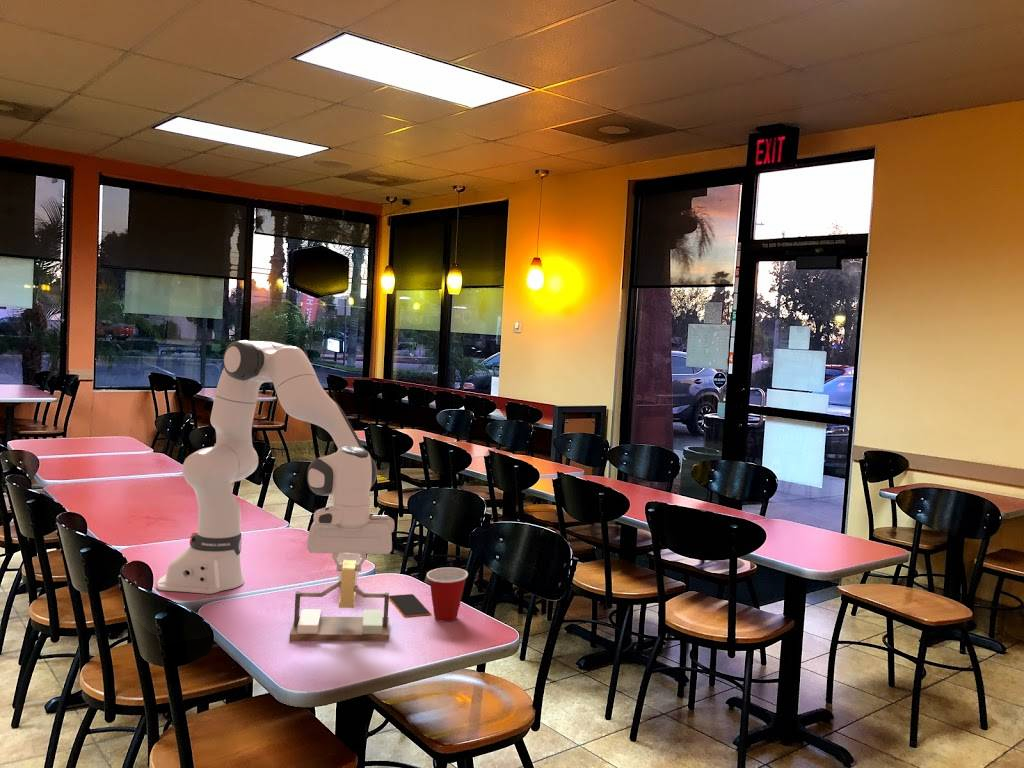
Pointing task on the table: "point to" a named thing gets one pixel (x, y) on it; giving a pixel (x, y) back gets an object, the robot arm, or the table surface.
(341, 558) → the white cylinder
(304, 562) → the table surface
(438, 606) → the plastic cup
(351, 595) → the yellow upright block
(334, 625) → the buzz wire
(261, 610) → the table surface
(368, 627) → the end block
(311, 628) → the block
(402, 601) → the smartphone
